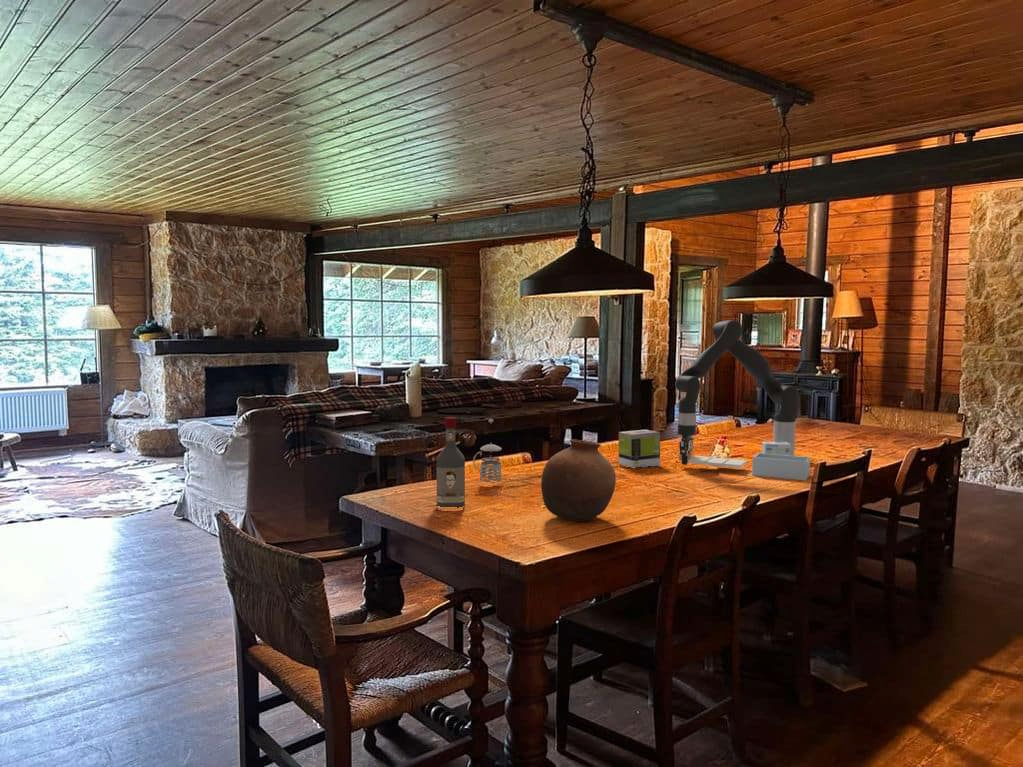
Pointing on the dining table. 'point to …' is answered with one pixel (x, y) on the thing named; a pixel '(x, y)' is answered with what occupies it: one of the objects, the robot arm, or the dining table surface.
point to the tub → (781, 466)
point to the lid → (714, 461)
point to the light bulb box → (776, 448)
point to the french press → (487, 461)
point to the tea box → (639, 448)
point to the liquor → (450, 471)
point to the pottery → (578, 482)
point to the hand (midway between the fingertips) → (685, 463)
